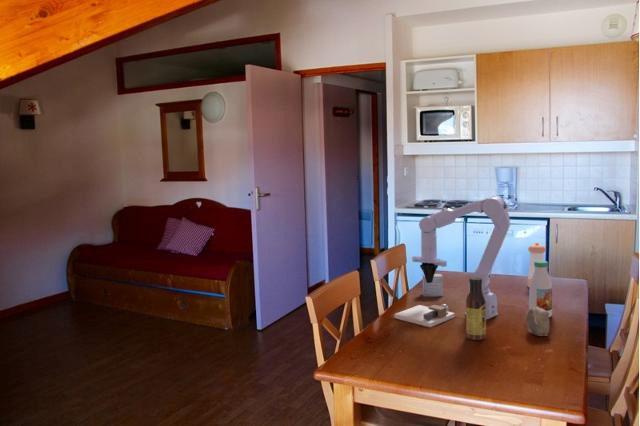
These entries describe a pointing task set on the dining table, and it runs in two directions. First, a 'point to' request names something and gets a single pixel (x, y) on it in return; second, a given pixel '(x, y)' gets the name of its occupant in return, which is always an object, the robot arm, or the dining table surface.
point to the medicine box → (433, 286)
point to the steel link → (434, 313)
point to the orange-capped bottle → (535, 258)
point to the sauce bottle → (475, 310)
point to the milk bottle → (541, 288)
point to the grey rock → (538, 321)
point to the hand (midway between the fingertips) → (429, 282)
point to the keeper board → (417, 313)
